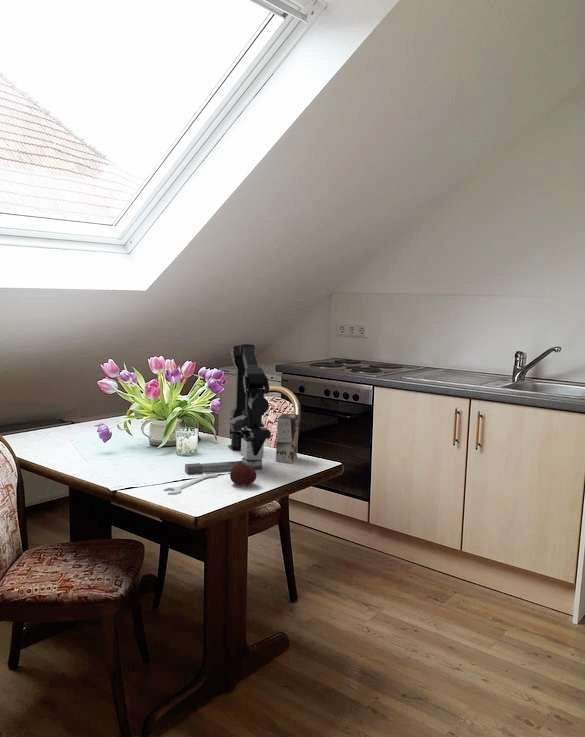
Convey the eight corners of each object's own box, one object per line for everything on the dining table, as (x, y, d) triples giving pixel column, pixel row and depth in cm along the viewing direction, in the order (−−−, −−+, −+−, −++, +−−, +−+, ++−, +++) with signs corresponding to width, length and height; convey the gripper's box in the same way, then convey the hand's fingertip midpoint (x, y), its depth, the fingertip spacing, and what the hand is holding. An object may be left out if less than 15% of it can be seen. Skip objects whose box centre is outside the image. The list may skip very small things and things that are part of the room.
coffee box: (292, 463, 233) (294, 419, 231) (275, 461, 234) (276, 417, 232) (297, 457, 242) (299, 414, 240) (280, 455, 243) (282, 412, 241)
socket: (240, 454, 226) (241, 437, 225) (257, 453, 229) (257, 436, 228) (246, 459, 221) (247, 442, 220) (263, 458, 223) (263, 441, 222)
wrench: (159, 495, 195) (173, 498, 193) (159, 490, 195) (173, 493, 193) (207, 473, 217) (220, 476, 215) (207, 469, 217) (220, 471, 215)
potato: (253, 489, 202) (254, 467, 201) (227, 486, 203) (227, 465, 202) (258, 482, 209) (259, 461, 208) (233, 480, 210) (233, 459, 210)
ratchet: (183, 469, 219) (184, 449, 218) (257, 464, 230) (258, 444, 229) (188, 475, 213) (189, 454, 212) (264, 469, 223) (265, 449, 222)
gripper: (223, 404, 228) (221, 447, 230) (240, 415, 211) (238, 461, 213) (253, 403, 232) (251, 445, 234) (272, 413, 215) (270, 459, 217)
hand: (252, 453), depth 225 cm, fingers closed on socket, 6 cm apart
